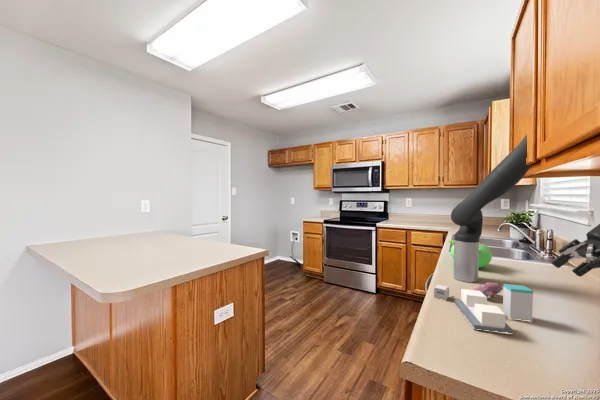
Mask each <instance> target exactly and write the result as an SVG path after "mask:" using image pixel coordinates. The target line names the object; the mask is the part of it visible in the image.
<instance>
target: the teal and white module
mask: <svg viewBox="0 0 600 400" xmlns="http://www.w3.org/2000/svg"><path fill="white" fill-rule="evenodd" d="M502 291H503V296H502V297H503V298H502V312H504V313H505V314H506V315H507V316H508V317H509V318H512V319H521V320H530V321H532V322H533V308H534V307H533V304H534V303H533V301H534V291H533V290H532V289H531V288H529V287H527V286H525V285H518V284H508V283H503V289H502ZM508 317H507V318H508ZM509 318H508V319H509Z"/></svg>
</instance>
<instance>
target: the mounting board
mask: <svg viewBox="0 0 600 400" xmlns="http://www.w3.org/2000/svg"><path fill="white" fill-rule="evenodd" d="M460 290H461V291H460V292H461V293H460V299H459V300H458V299H455V300H454V305H455V304H456V305H457V306H458V307H457V306H456V305H455V306H456V307H457V309H458V308H459V309H460V310H461V311H460V310H459V309H458V310H459V311H460V313H461V312H462V313H463V314H464V315H465V316H466V318H467V319H468V320H469V322H470V323H471V324H472V326H473V327H474V328H475V329H481V330H489V331H498V332H508V333H514V332H513V331H514V329H513V328H512V327H511V326H509V325H508V324H507V322H506V318H507V317H506V314H505V313H504V312H503V310H501V308H499V307H498V306H497V305H491V304H487V301H488V300H487V298H488V297H486V296H485V295H484V294H483V293H482V292H481V291H476V290H473V289H464V288H460ZM462 313H461V314H462ZM463 314H462V315H463ZM464 315H463V316H464ZM466 318H465V319H466ZM467 319H466V320H467ZM469 322H468V323H469ZM472 326H471V327H472Z"/></svg>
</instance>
